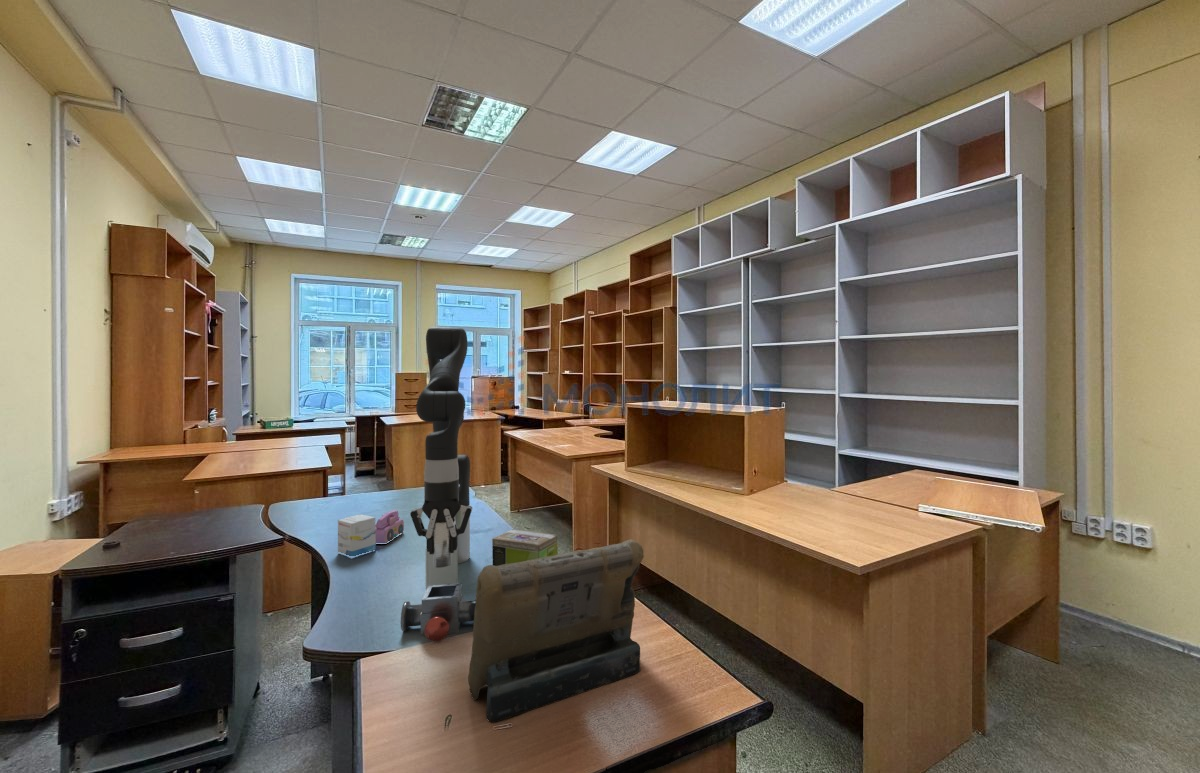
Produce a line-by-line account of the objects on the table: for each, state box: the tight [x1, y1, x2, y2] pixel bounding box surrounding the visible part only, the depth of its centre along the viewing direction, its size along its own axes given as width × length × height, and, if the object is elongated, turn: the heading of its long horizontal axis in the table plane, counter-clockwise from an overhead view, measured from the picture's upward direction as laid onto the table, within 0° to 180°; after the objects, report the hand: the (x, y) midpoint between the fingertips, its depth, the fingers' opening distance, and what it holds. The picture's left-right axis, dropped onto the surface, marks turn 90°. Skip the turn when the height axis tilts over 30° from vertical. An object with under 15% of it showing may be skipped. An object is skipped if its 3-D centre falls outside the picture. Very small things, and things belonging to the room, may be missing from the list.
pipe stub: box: [433, 522, 451, 568], centre depth 109 cm, size 4×4×10 cm
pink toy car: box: [375, 510, 405, 543], centre depth 172 cm, size 18×6×10 cm, turn 177°
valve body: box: [400, 582, 476, 642], centre depth 107 cm, size 12×17×8 cm
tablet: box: [467, 539, 645, 722], centre depth 88 cm, size 33×14×25 cm, turn 123°
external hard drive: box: [424, 546, 459, 591], centre depth 126 cm, size 2×8×12 cm, turn 123°
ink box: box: [337, 513, 377, 556], centre depth 157 cm, size 8×8×12 cm
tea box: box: [491, 528, 559, 566], centre depth 127 cm, size 15×10×15 cm
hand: (442, 552), depth 109 cm, fingers closed on pipe stub, 4 cm apart
